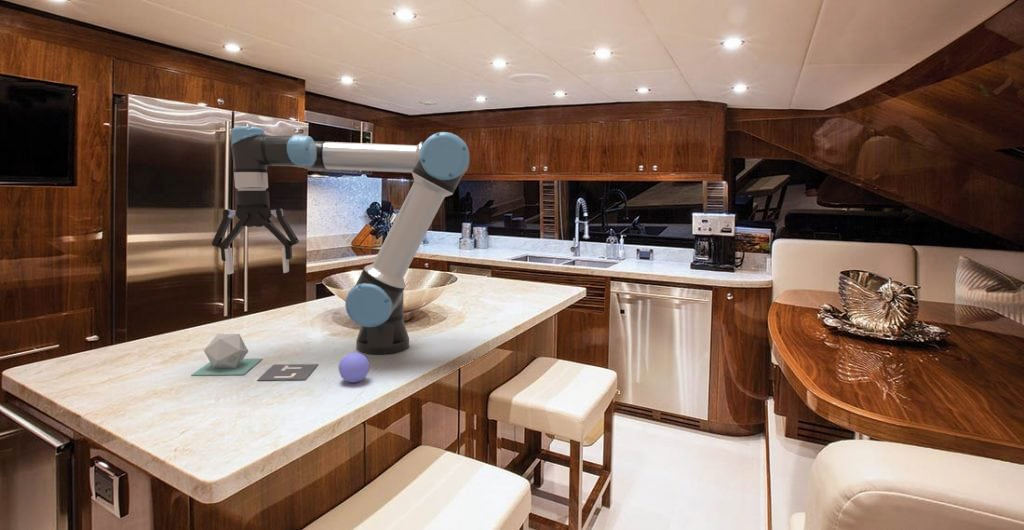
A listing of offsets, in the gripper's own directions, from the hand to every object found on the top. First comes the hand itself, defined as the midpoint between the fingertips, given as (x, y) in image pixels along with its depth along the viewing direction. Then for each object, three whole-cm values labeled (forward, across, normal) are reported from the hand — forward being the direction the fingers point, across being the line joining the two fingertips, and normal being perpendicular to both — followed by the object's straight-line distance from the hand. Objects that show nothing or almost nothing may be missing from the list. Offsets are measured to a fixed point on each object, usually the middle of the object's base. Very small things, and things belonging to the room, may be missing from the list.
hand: (258, 272), depth 131 cm
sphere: (+25, -25, +18) cm, 39 cm away
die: (+23, +8, +5) cm, 25 cm away
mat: (+23, +7, +5) cm, 25 cm away
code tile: (+24, -9, +10) cm, 27 cm away
